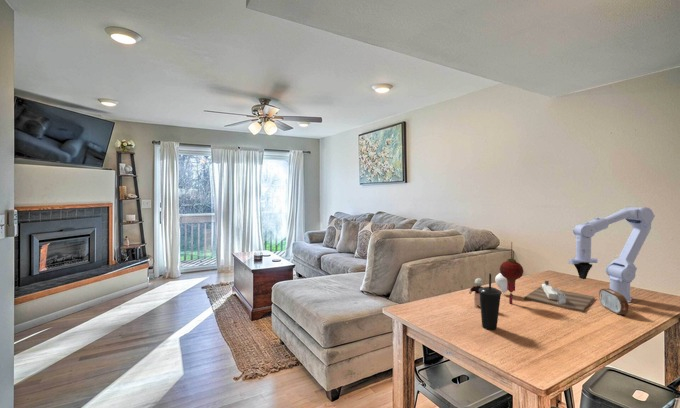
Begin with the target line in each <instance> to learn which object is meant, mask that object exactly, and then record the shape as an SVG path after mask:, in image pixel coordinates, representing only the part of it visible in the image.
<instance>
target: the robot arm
mask: <svg viewBox="0 0 680 408" xmlns="http://www.w3.org/2000/svg"><path fill="white" fill-rule="evenodd" d="M655 216H656V215H655V213H654V211H653V210H652V209H651V208H650V207H646V206H645V207H640V206H639V207H638V206H636V207H635V206H626V207H624V208H621V209H619V210H618V211H615V212H614V213H611V214H610V215H608V216H604V217H599V216H597V217H596V216H595V217H594V218H593V219H591V220H590V221H585V222H584V223H583V224H581V223H579V224H576V225H575V226H574V228H573V229H572V233H573V234H574V235H575V236H574V237H575V257H573V258H571V259H570V258H569V259H568V264H570V265H573V266H574V267H575V268H576V271H577V273H578V274H577V275H578V277H579V279H581V280H586V279H587V277H588V274H589V272H590V271H591V269H592V268H593V263H595V264H598V258H595V257H593V258H592V238H593V237H594V236H595V234H597V233H598V232H601V231H603V230H606V229H608V228H609V225H612V224H614V223H615V224H616V223H618V222H620V221H623V220H625V221H626V222H627V223H629V225H630V226H631V227H632V231H631V233H630V235H629V236H628V238H627V240H626V242H625V244H624V246H623V247H622V250H621V252H620V254H619V256H618V257H617V258H616V259H613V260H611V263H609V264H608V265H607V266H606V268H605V273H606V275H608V279H609V289H612V290H614V291H616V292H618V293H620V294H622V295H623V296H624V297H625V298H626V300H627V302H628V303H631V302H632V299H633V296H631V283H632V282H633V281H634V279H635V278H636V272H637V269H638V268H637V266H636V265H635V261H636V259H637V257H638V255H639V254H640V251H641V249H642V247H643V245H644V244H645V241H646V239H647V237H648V235H649V233H650V231H651V230H652V222H653V220H654V218H655Z"/></svg>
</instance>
